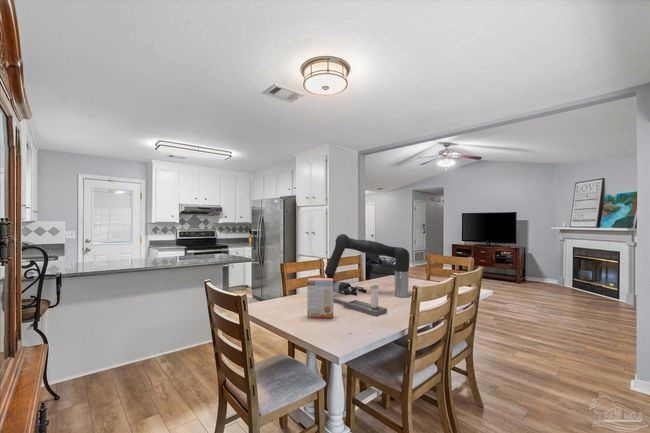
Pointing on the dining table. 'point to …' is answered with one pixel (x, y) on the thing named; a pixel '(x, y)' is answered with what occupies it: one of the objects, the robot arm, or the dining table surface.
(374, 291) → the fader tab
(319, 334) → the dining table surface
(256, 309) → the dining table surface
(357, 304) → the fader console
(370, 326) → the dining table surface
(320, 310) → the cracker box
